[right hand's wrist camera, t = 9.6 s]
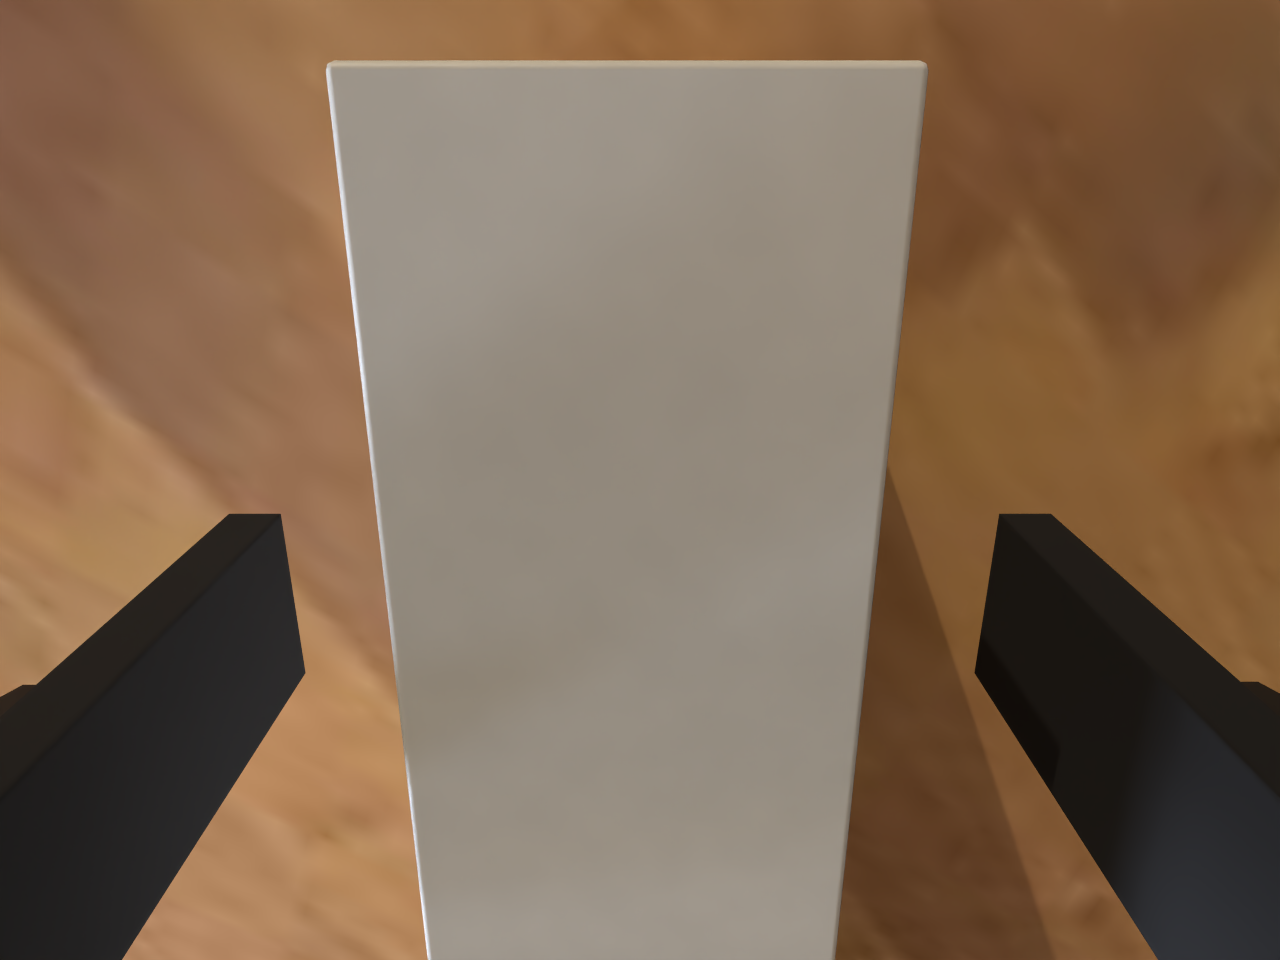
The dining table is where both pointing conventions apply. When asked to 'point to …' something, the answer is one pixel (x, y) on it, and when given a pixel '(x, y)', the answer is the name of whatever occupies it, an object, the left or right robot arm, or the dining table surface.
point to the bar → (629, 480)
